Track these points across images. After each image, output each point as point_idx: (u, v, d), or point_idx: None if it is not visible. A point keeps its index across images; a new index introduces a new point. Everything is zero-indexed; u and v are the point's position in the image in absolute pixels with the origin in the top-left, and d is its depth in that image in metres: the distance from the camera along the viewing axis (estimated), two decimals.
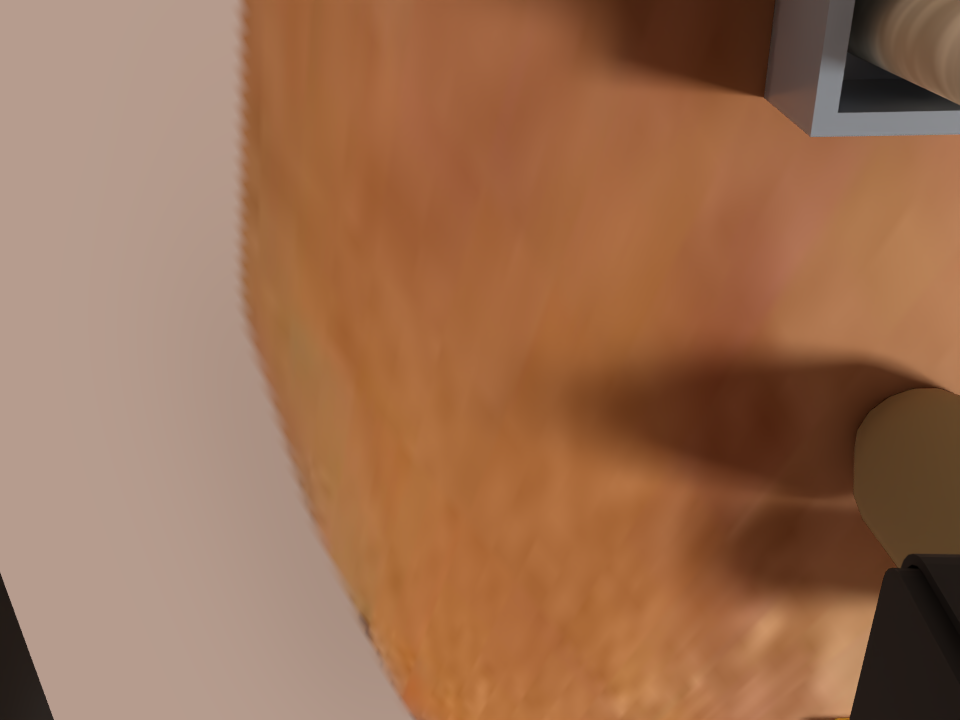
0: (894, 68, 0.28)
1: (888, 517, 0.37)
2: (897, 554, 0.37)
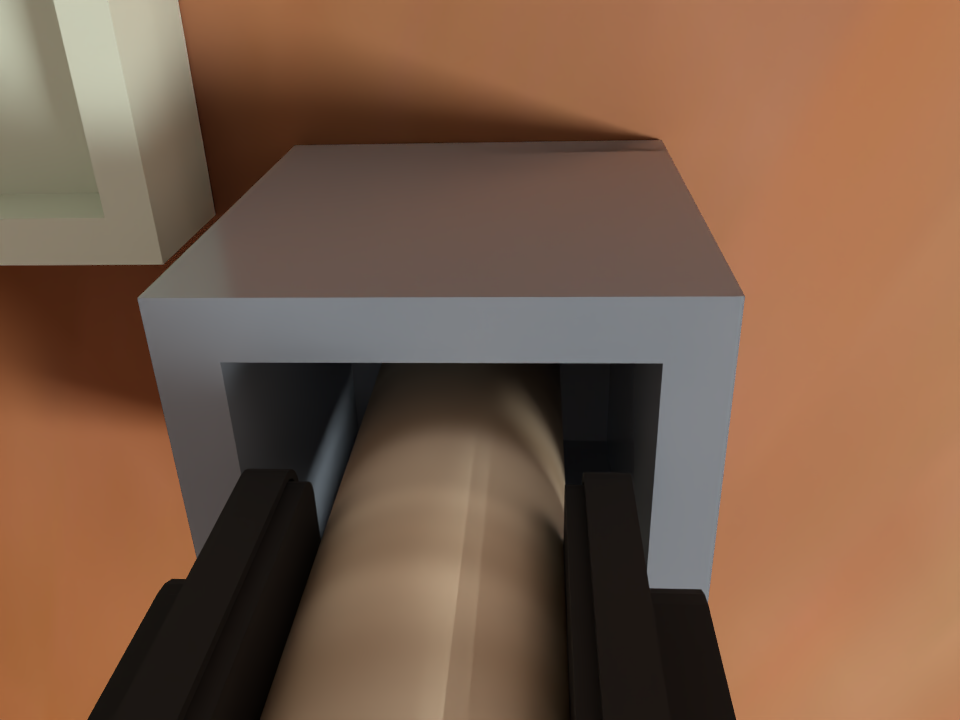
0: None
1: None
2: None
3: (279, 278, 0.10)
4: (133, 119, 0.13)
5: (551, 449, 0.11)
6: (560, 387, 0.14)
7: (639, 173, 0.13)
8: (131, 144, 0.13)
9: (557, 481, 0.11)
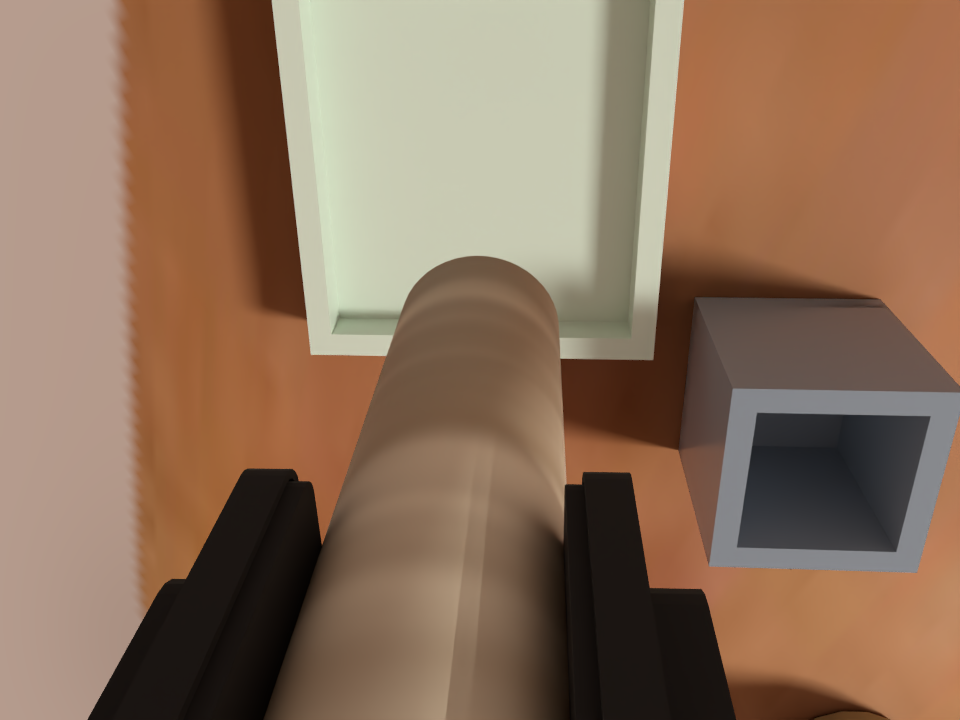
0: None
1: None
2: None
3: (778, 380, 0.26)
4: (658, 297, 0.29)
5: (552, 452, 0.11)
6: (561, 390, 0.14)
7: (884, 323, 0.29)
8: (654, 307, 0.29)
9: (558, 484, 0.11)
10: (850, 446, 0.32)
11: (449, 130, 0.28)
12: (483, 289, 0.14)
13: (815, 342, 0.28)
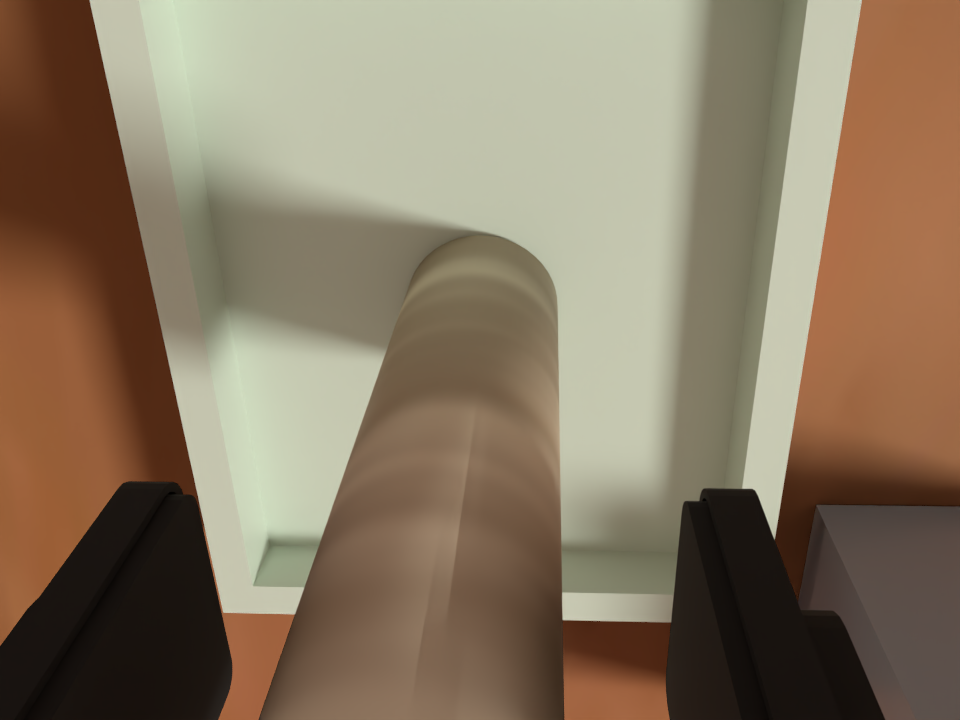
0: None
1: None
2: None
3: None
4: (774, 538, 0.18)
5: (546, 419, 0.12)
6: (557, 362, 0.15)
7: None
8: None
9: (551, 448, 0.12)
10: None
11: None
12: (485, 268, 0.15)
13: None
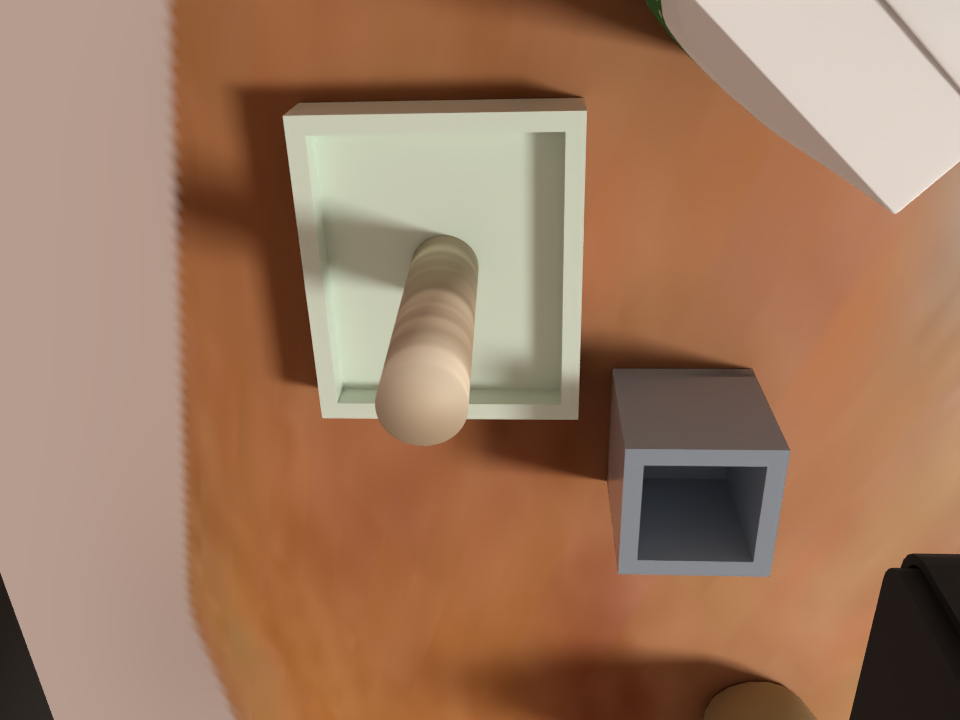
0: None
1: None
2: None
3: (659, 441, 0.36)
4: (579, 374, 0.39)
5: (470, 301, 0.33)
6: (476, 287, 0.36)
7: (749, 391, 0.39)
8: (576, 382, 0.39)
9: (471, 310, 0.33)
10: (732, 479, 0.42)
11: None
12: (447, 248, 0.36)
13: (693, 408, 0.38)
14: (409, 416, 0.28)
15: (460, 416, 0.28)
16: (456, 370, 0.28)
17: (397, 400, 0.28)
